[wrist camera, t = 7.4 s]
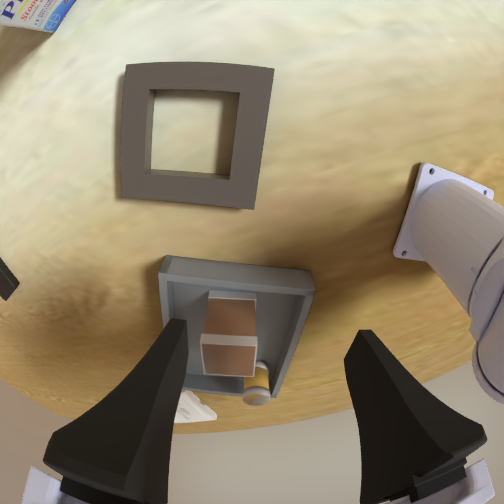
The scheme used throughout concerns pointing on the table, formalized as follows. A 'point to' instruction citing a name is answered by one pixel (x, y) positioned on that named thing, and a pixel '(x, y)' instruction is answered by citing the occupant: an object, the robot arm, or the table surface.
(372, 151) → the table surface
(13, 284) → the multimeter
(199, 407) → the external hard drive
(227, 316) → the block
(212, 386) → the parts tray
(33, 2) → the medicine box
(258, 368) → the cylinder
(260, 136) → the grey square frame
